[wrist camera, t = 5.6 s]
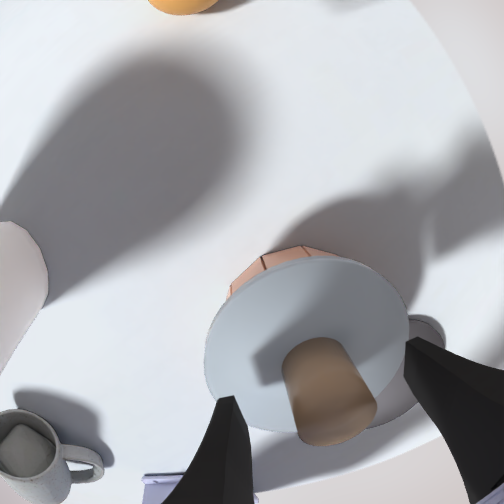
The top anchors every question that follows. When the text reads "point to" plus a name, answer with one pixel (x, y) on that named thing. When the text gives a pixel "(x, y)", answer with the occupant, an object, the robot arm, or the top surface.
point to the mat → (402, 381)
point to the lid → (308, 347)
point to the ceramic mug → (40, 459)
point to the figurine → (182, 6)
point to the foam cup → (19, 286)
